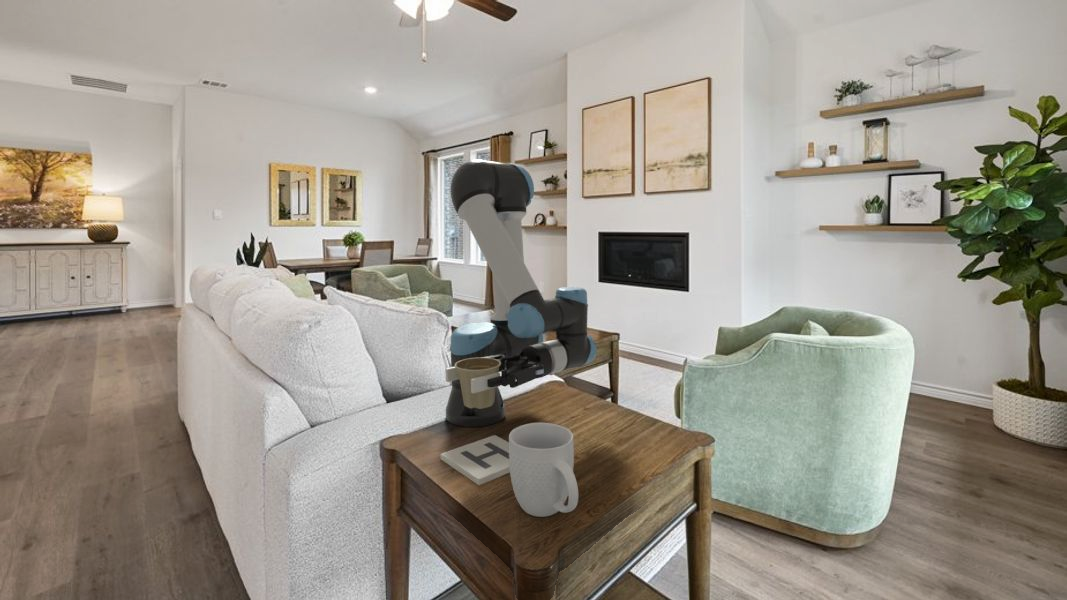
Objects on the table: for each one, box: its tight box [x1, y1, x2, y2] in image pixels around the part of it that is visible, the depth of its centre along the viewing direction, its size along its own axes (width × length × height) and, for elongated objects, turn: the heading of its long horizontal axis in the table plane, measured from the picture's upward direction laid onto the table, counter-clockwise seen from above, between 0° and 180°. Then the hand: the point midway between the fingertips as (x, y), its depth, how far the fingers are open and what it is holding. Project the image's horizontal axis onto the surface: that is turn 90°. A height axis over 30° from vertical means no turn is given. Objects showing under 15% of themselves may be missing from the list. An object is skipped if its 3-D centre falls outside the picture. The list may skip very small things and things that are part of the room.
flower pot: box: [455, 358, 501, 409], centre depth 100 cm, size 9×9×9 cm
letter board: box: [440, 434, 510, 486], centre depth 101 cm, size 14×14×1 cm
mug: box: [508, 422, 579, 518], centre depth 82 cm, size 15×11×13 cm
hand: (458, 380), depth 97 cm, fingers closed on flower pot, 8 cm apart
